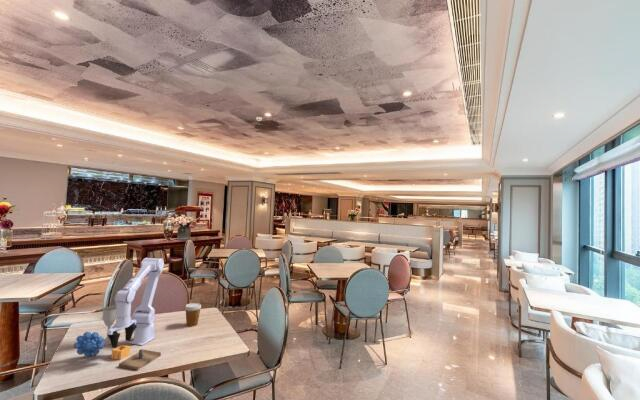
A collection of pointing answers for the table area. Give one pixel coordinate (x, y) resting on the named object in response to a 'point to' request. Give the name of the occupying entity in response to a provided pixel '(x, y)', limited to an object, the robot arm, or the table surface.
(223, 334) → the table surface
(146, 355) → the keeper base
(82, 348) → the grapes
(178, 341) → the table surface
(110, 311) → the chalice
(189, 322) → the disposable coffee cup
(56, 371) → the table surface
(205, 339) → the table surface
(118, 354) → the orange hollow frame block
